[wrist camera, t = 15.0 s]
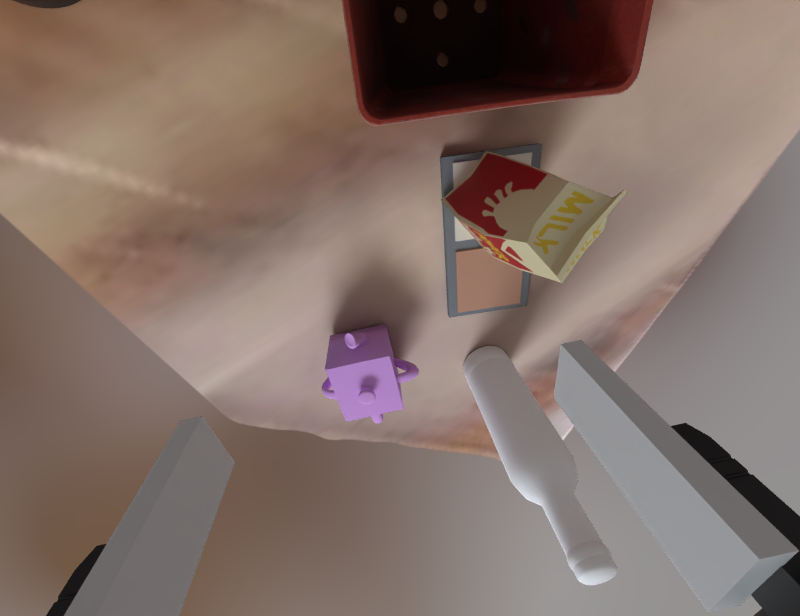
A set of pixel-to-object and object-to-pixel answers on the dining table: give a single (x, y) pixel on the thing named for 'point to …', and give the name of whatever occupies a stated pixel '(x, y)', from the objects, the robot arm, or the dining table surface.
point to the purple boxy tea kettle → (365, 373)
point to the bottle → (536, 459)
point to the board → (479, 247)
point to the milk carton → (529, 215)
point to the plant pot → (490, 54)
